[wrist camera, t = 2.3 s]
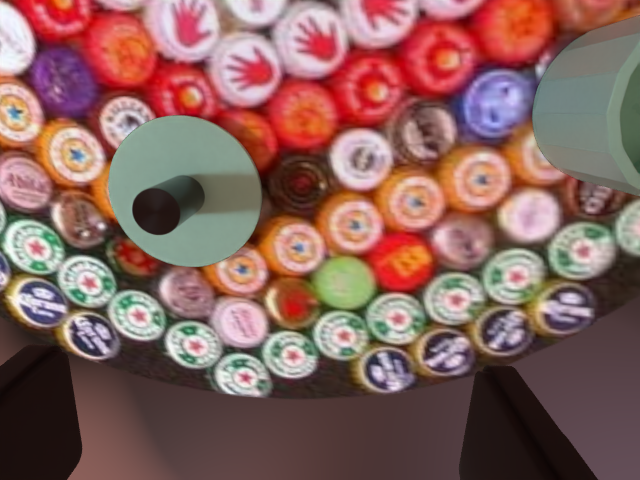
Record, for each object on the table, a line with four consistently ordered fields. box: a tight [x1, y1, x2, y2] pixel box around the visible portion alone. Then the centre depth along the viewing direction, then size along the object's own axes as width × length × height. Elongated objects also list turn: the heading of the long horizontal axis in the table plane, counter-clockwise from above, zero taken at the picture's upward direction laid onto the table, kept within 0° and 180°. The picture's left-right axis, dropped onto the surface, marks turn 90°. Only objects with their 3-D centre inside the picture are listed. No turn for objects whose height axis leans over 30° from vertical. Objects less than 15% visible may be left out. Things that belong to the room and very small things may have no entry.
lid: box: [108, 115, 262, 267], centre depth 29 cm, size 11×11×7 cm
